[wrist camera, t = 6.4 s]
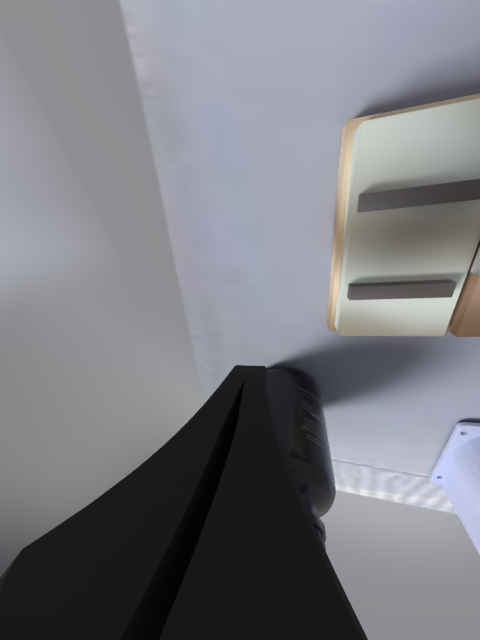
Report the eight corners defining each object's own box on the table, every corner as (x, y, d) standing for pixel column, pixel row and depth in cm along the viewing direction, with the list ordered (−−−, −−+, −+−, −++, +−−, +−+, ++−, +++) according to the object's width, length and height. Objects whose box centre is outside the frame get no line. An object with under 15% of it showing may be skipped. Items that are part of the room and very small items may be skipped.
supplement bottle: (244, 366, 21) (202, 522, 11) (318, 362, 19) (352, 547, 9) (257, 414, 24) (233, 574, 14) (321, 415, 22) (351, 601, 12)
